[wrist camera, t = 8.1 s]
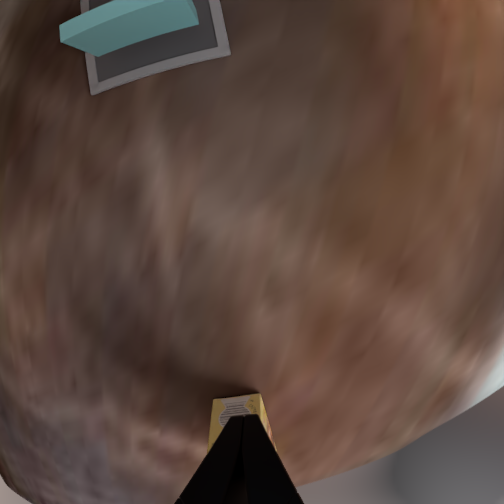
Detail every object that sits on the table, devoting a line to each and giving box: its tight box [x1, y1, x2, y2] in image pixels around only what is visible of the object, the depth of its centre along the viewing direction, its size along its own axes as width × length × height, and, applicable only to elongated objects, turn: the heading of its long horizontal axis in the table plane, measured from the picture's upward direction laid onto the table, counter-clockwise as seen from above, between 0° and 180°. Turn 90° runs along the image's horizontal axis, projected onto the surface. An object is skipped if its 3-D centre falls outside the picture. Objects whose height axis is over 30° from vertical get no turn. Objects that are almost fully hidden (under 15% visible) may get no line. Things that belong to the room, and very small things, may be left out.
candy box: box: [207, 393, 277, 453], centre depth 18 cm, size 9×4×15 cm, turn 12°
